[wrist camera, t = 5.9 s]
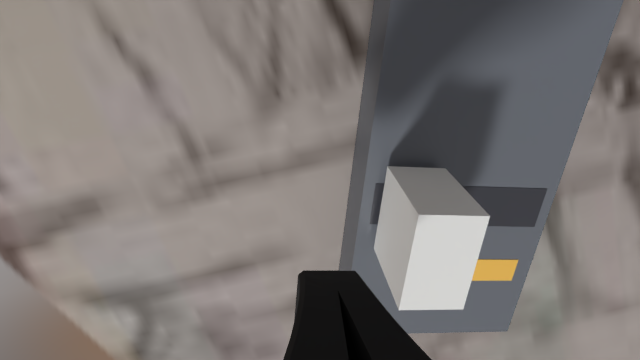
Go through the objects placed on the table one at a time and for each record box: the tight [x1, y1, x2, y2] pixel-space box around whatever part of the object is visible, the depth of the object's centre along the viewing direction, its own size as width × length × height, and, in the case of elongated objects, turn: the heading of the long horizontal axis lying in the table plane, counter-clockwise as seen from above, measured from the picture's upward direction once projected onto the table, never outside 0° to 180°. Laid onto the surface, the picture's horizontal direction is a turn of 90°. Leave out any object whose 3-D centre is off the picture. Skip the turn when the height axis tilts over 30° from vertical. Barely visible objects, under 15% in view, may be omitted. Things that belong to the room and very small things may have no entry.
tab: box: [374, 166, 490, 310], centre depth 14 cm, size 2×3×3 cm, turn 175°
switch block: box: [339, 0, 623, 333], centre depth 15 cm, size 7×22×2 cm, turn 175°
